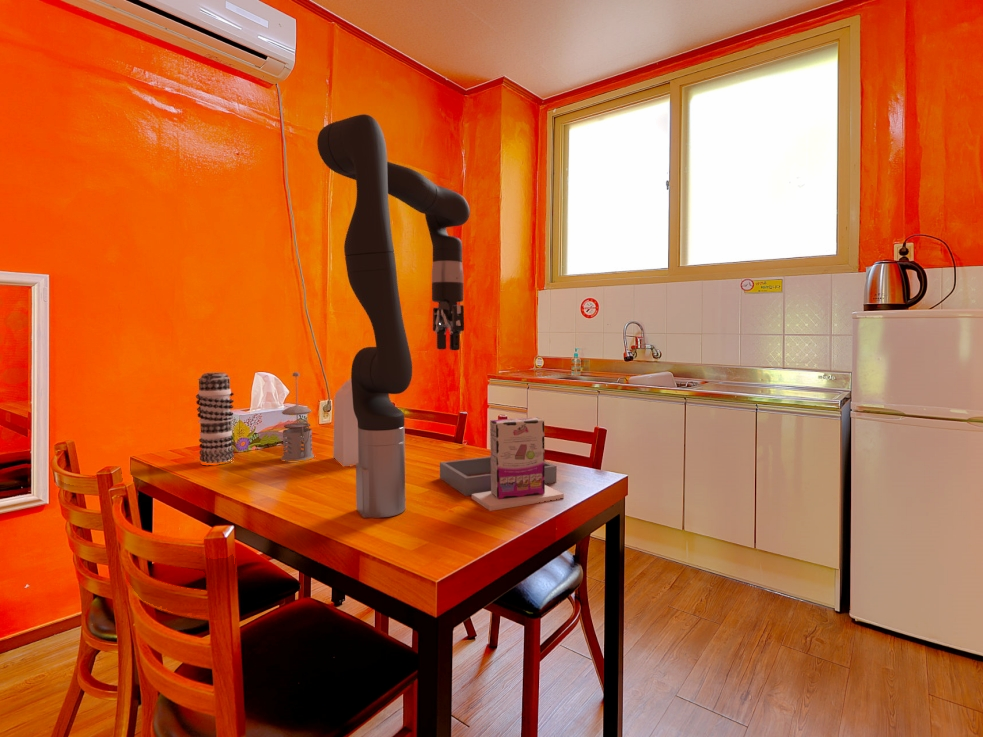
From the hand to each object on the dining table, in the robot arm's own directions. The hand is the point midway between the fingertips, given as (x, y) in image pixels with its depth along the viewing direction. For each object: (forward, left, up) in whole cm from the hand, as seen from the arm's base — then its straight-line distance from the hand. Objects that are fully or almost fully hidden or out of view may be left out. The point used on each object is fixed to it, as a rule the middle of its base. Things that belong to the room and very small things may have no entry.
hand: (447, 349), depth 124 cm
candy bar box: (+8, -19, -31) cm, 38 cm away
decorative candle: (-51, +46, -32) cm, 76 cm away
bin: (+11, -5, -32) cm, 34 cm away
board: (+8, -19, -32) cm, 38 cm away
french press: (-30, +40, -32) cm, 60 cm away
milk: (-15, +31, -32) cm, 47 cm away
